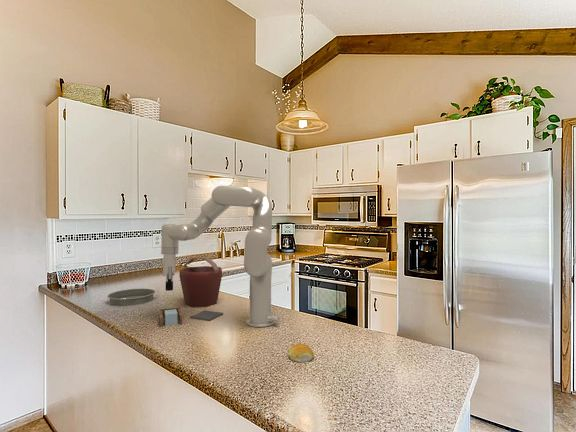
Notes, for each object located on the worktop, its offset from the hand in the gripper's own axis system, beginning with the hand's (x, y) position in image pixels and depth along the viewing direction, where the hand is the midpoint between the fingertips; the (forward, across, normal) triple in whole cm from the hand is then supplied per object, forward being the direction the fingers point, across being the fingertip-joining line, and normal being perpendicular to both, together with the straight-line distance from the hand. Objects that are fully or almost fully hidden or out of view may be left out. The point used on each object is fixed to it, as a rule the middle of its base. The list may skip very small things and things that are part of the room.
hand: (169, 290), depth 153 cm
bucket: (+13, -22, +18) cm, 31 cm away
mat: (+13, +4, +17) cm, 22 cm away
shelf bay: (+13, +4, +1) cm, 14 cm away
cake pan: (+14, -42, -18) cm, 48 cm away
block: (+13, +7, +1) cm, 15 cm away
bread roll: (+12, +62, +40) cm, 74 cm away
